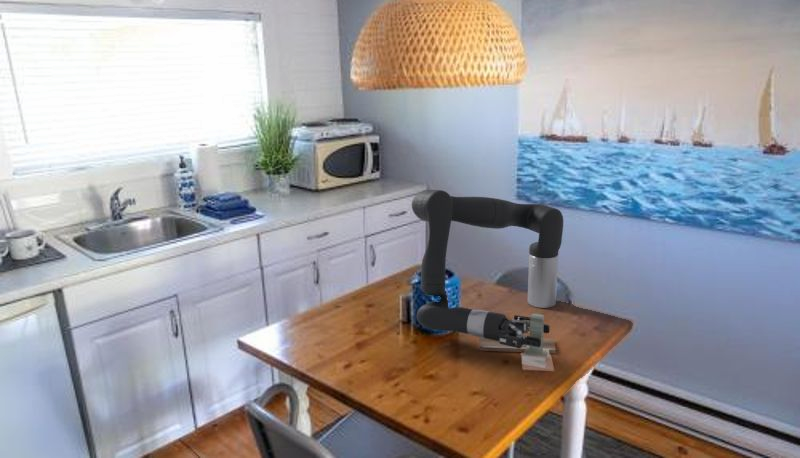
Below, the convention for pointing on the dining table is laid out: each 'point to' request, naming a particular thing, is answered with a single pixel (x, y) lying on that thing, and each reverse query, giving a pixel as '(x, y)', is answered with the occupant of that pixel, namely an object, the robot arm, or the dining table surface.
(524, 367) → the end pad
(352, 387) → the dining table surface
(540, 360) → the tall grey square pillar
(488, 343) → the grey-brown board
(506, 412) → the dining table surface
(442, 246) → the robot arm
